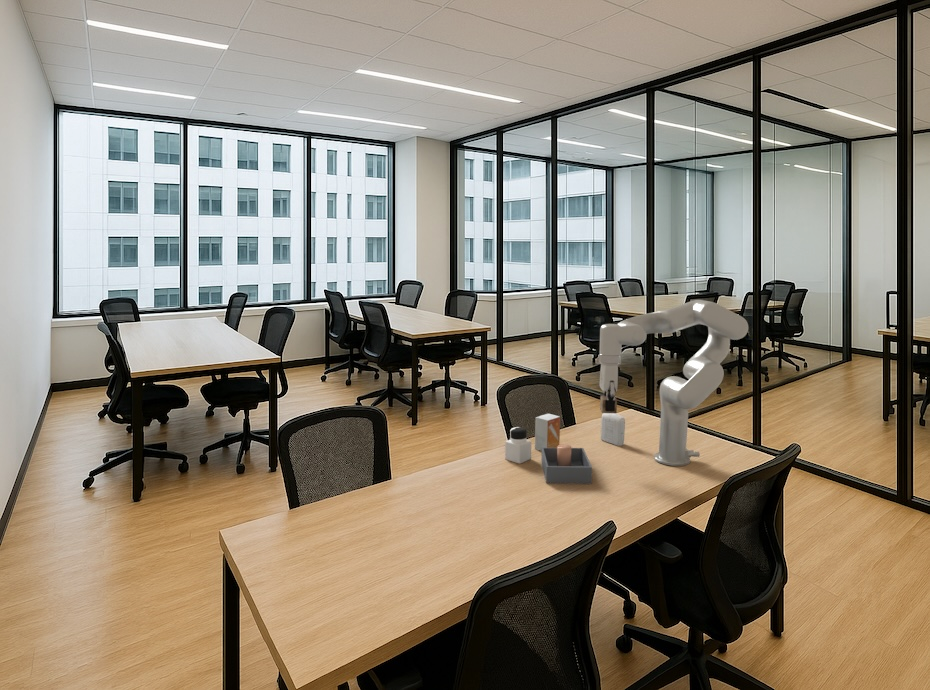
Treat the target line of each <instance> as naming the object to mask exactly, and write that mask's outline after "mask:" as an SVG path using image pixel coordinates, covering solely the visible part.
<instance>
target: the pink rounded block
mask: <svg viewBox="0 0 930 690" xmlns="http://www.w3.org/2000/svg"><path fill="white" fill-rule="evenodd" d="M571 448H572V446H571V445H569V444H566V443H565V444H559V445H558V446H557V466H571Z"/></svg>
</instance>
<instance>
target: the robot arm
mask: <svg viewBox="0 0 930 690" xmlns="http://www.w3.org/2000/svg"><path fill="white" fill-rule="evenodd" d="M697 325H703V326H706V327H707V330H708V336H707V340H706V342H705V343H704V344H703V346H701V348H700V349H699V350H698V351H697V352H696V353H695V354H693V356H691V357H690V358H689V359H688V361H686V363H685V364H684V365H683V368H682V374H683V375H684V377H685V378H687V379H688V380H687V379H685V378H682V377H681V376H677V375H676V376H675V375H673V376H672V375H671V376H667V377H666V378H664V379H663V380H662V381H661V383H660V386H659V398H660V399H659V400H660V423H659V439H658V440H659V445H658V452H657V453H655V454H654V455H653V456H654V461H656V462H658V463H660V464H662V465H666V466H672V467H681V466H683V467H684V466H687V465H689V464H690V463H691V457H692V458H699V457H700V456H701V455H700V451H694V449H687V440H688V426H689V425H688V423H689V410H693V409H695V408H697V407H698V406H699V405H701V404H702V403H703V402H704V401H705V400H706V399H707V398H708V397H710V395H711V394H712V393H714V391H715V390H717V388H718V387H719V386H720V385H721V383H722V381H723V380H724V376H725V375H724V373H725V372H724V369H723V366H722V365H721V363H722V362H723V361H724V360H725V359H726V357H727V356H728V354H729V352H730V346H731V340H734V341H735V340H736V341H738V340H740V339H743V338H744V337H746V335H747V333H748V332H749V324H748V321H747V320H746V319H745V318H744V317H743V316H742V315H739V314H737V313H736V312H734V311H731V310H730V309H728V308H726V307H724V306H723V305H720V304H719V303H716V302H714V301H709V300H704V299H695V300H694V299H693V300H691V301H688V302H685V303H681V304H679V305H676V306H673V307H670V308H667V309H663V310H658V311H654V312H649V313H644V314H639V315H635V316H633V317H629V318H626V319H624V320H622V321H620V322H618V323H605V324H602V325H601V326H600V328H599V355H598V357H599V358H598V359H599V361H598V363H599V364H600V370H599V371H600V372H599V384H598V385H599V388H600V389H601V391H602V396H606V401H605V411H615V398H616V395H615V393H616V392H618V384H619V365H621V364H622V345H623V346H624V345H625V346H632V347H633V346H635V347H636V346H640V345H641V344H643V343H644V342H645V341H646V339H647V335H649V334H672V333H676V332H678V331H681V330H685V329H687V328H690V327H693V326H694V327H695V326H697Z"/></svg>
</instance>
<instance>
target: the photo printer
mask: <svg viewBox="0 0 930 690" xmlns="http://www.w3.org/2000/svg"><path fill="white" fill-rule="evenodd" d="M600 422H601V426H600V440H601V441H604V442H606V443H609V444H612V445H615V446H617V447H621V446H623V445H624V444H625V432H626V431H625V430H626V419H625V418H624V417H623V416H622V415H620V414H619V413H602V415H601V421H600Z"/></svg>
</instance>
